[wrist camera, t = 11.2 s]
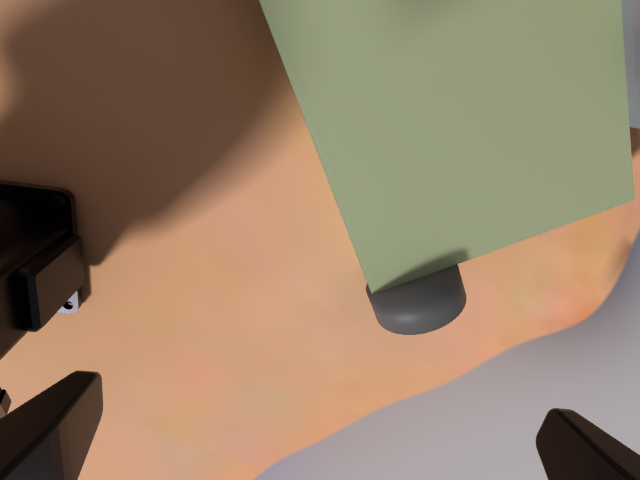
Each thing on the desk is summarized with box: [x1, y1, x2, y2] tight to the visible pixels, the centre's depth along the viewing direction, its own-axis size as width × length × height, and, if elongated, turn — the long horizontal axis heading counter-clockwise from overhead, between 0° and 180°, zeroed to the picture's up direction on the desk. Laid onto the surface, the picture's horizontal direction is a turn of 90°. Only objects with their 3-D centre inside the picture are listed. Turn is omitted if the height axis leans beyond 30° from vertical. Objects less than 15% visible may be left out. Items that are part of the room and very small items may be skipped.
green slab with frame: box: [259, 0, 640, 335], centre depth 16 cm, size 22×19×4 cm
